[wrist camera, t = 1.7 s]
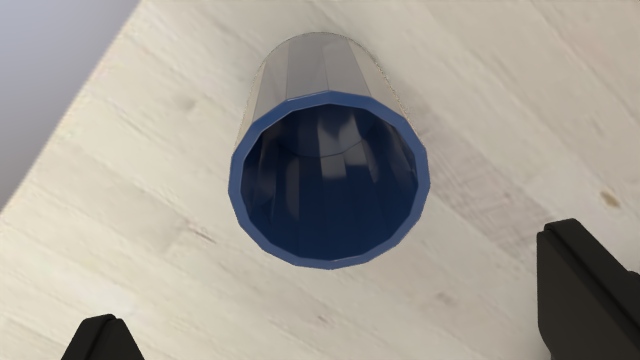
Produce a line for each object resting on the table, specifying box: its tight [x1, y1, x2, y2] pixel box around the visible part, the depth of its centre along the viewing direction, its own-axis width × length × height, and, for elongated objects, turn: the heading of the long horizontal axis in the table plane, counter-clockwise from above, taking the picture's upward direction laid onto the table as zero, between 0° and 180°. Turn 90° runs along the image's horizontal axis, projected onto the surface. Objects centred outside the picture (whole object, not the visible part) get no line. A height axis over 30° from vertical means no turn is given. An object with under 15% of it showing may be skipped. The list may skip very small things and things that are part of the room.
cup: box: [228, 32, 431, 270], centre depth 20 cm, size 6×6×9 cm
